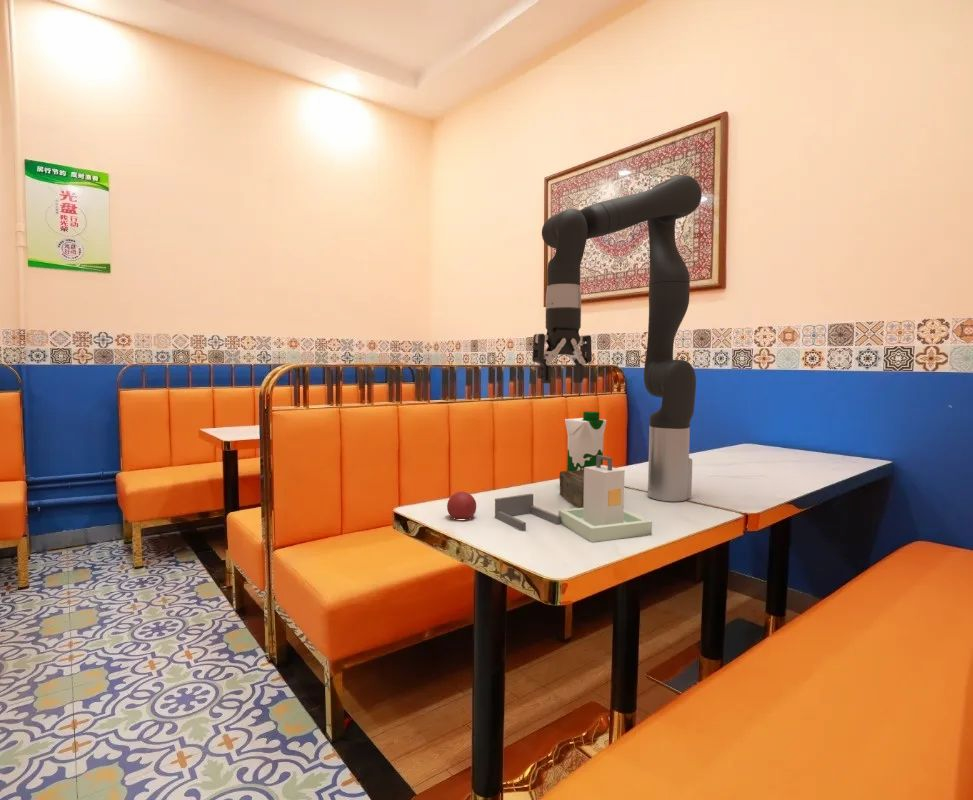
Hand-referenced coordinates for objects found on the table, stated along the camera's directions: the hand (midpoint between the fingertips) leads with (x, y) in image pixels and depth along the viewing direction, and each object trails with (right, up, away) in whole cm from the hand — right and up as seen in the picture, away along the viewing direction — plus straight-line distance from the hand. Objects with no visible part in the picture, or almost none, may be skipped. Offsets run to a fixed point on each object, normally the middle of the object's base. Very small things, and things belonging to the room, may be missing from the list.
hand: (562, 383), depth 116 cm
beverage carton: (+7, -28, +8) cm, 30 cm away
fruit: (-21, -29, -5) cm, 36 cm away
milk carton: (+9, -27, +24) cm, 37 cm away
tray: (+7, -29, -11) cm, 31 cm away
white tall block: (+7, -28, -11) cm, 31 cm away
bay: (-8, -29, -6) cm, 30 cm away
